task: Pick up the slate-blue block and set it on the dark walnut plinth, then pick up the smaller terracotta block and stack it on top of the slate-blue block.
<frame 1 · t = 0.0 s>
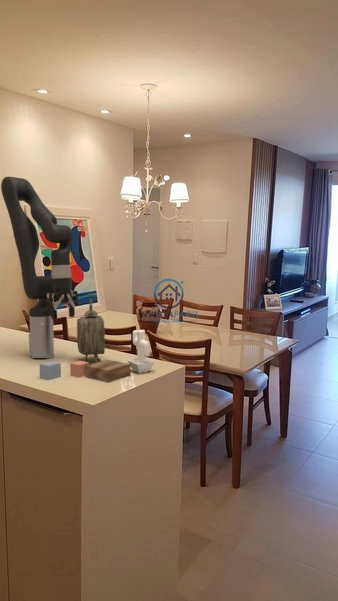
hand: (63, 318, 179), 17 cm above the table, tool pointing down, fingers open, 8 cm apart
plinth: (108, 376, 159), on the table
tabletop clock: (90, 362, 180), on the table
figurine: (141, 371, 166), on the table
terracotta block: (79, 375, 161), on the table
blue block: (50, 377, 158), on the table
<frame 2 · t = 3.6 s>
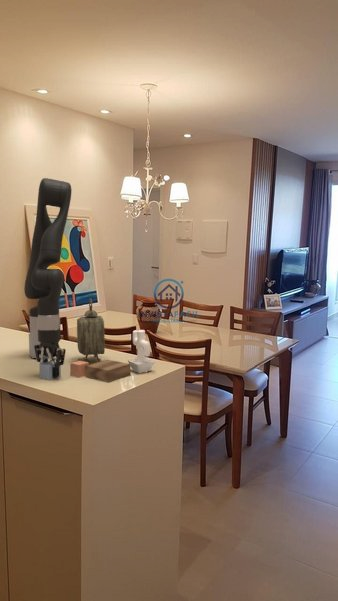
hand: (50, 375, 158), 0 cm above the table, tool pointing down, fingers closed on blue block, 5 cm apart
blue block: (50, 377, 158), on the table, touching gripper
everything else where it was.
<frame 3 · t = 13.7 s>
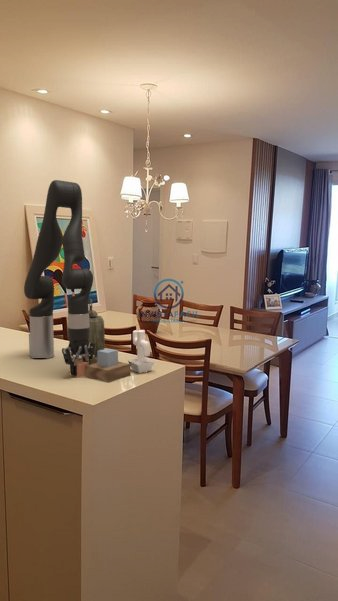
hand: (79, 373, 161), 0 cm above the table, tool pointing down, fingers closed on terracotta block, 4 cm apart
terracotta block: (79, 375, 161), on the table, touching gripper
blue block: (107, 364, 159), point 4 cm above the table, touching plinth
everything else where it was.
when the fingers open (11 cm above the table, at t = 18.2 s): terracotta block drops 1 cm, resting on blue block.
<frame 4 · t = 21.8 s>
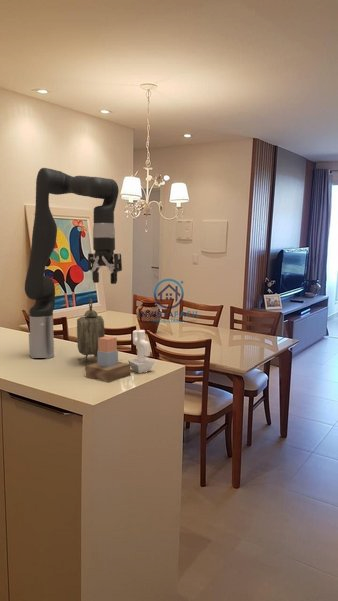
hand: (104, 283, 161), 32 cm above the table, tool pointing down, fingers open, 8 cm apart
terracotta block: (107, 350, 158), point 9 cm above the table, touching blue block
blue block: (107, 364, 159), point 4 cm above the table, touching plinth, terracotta block
everything else where it was.
at the end: blue block inside the target area on the plinth (0.1 cm from its centre), point 4.0 cm above the plinth's base; terracotta block 0.1 cm off-centre on the blue block, point 5.0 cm above the blue block's base; terracotta block tilted 0° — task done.
